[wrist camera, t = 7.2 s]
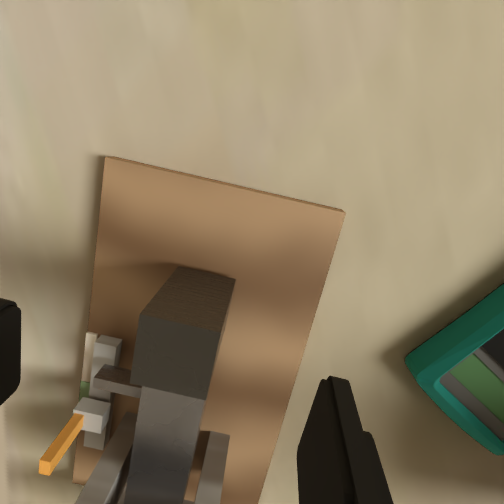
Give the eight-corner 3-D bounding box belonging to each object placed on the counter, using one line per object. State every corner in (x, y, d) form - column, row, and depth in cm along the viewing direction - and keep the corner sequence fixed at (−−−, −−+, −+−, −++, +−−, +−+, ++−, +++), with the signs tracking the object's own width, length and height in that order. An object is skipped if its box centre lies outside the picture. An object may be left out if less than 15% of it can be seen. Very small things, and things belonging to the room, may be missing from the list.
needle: (82, 396, 20) (37, 456, 16) (110, 403, 20) (72, 463, 16) (80, 414, 20) (36, 476, 16) (108, 420, 20) (70, 483, 16)
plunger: (124, 253, 18) (63, 296, 13) (236, 278, 18) (220, 332, 13) (99, 449, 22) (44, 546, 16) (192, 470, 22) (167, 573, 16)
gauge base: (113, 156, 18) (-56, 165, 9) (342, 209, 18) (414, 273, 9) (80, 469, 24) (-43, 673, 15) (252, 508, 24) (240, 735, 15)
